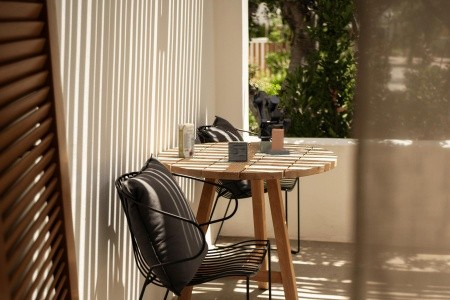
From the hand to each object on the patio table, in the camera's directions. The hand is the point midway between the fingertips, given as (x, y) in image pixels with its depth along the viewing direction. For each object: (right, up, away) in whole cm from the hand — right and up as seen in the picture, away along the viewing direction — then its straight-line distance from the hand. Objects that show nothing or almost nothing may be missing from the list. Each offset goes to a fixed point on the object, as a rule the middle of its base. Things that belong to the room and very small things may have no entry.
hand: (277, 134), depth 462 cm
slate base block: (0, -12, +1) cm, 12 cm away
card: (+14, -10, +14) cm, 22 cm away
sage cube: (-7, -10, +11) cm, 16 cm away
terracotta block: (0, -9, +1) cm, 9 cm away
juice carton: (-54, -13, -11) cm, 56 cm away
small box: (-24, -15, -28) cm, 40 cm away
